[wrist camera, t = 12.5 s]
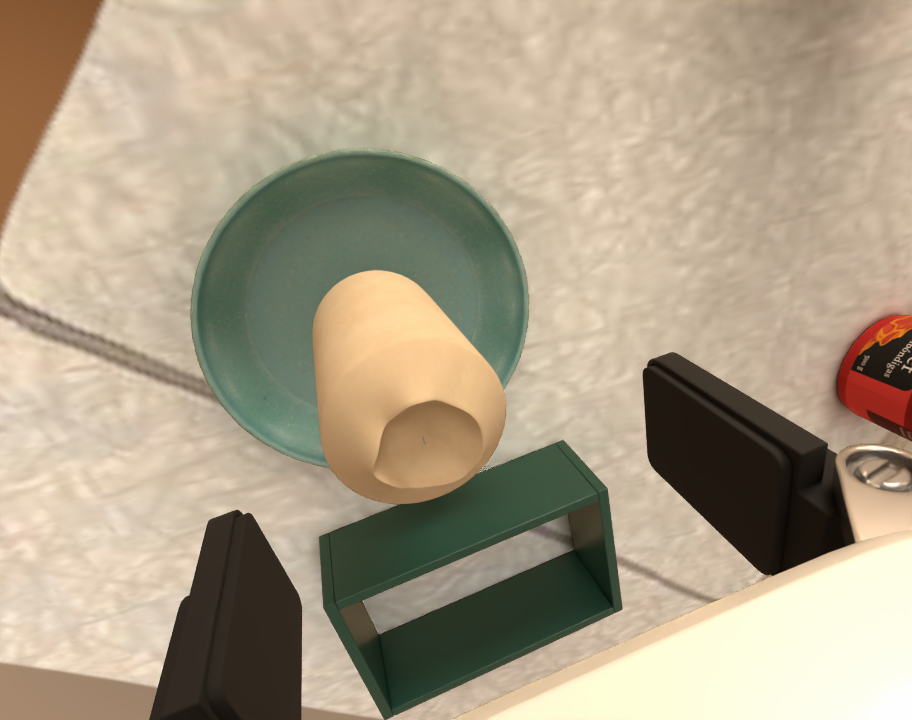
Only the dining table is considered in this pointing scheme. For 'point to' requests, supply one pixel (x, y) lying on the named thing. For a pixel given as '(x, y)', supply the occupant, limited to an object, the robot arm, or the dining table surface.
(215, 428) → the dining table surface
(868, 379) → the canned food
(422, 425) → the candle
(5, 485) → the dining table surface
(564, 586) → the case
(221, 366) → the saucer
